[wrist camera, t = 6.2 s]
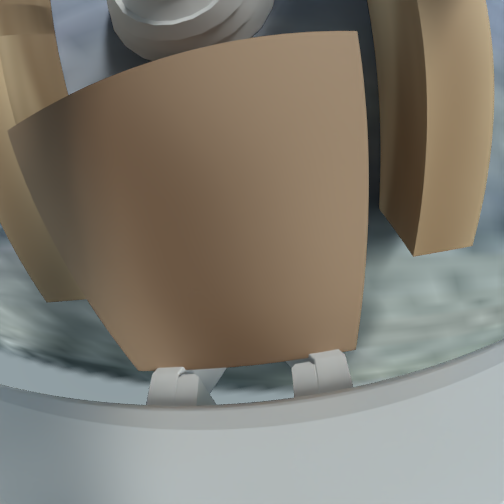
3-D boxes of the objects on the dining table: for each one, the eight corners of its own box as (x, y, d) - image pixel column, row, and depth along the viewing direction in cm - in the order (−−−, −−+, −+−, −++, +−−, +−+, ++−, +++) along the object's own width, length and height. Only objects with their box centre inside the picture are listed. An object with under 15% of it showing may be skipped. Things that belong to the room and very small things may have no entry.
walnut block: (299, 47, 7) (357, 31, 3) (320, 241, 11) (355, 349, 7) (110, 91, 8) (7, 130, 4) (169, 264, 12) (138, 370, 8)
